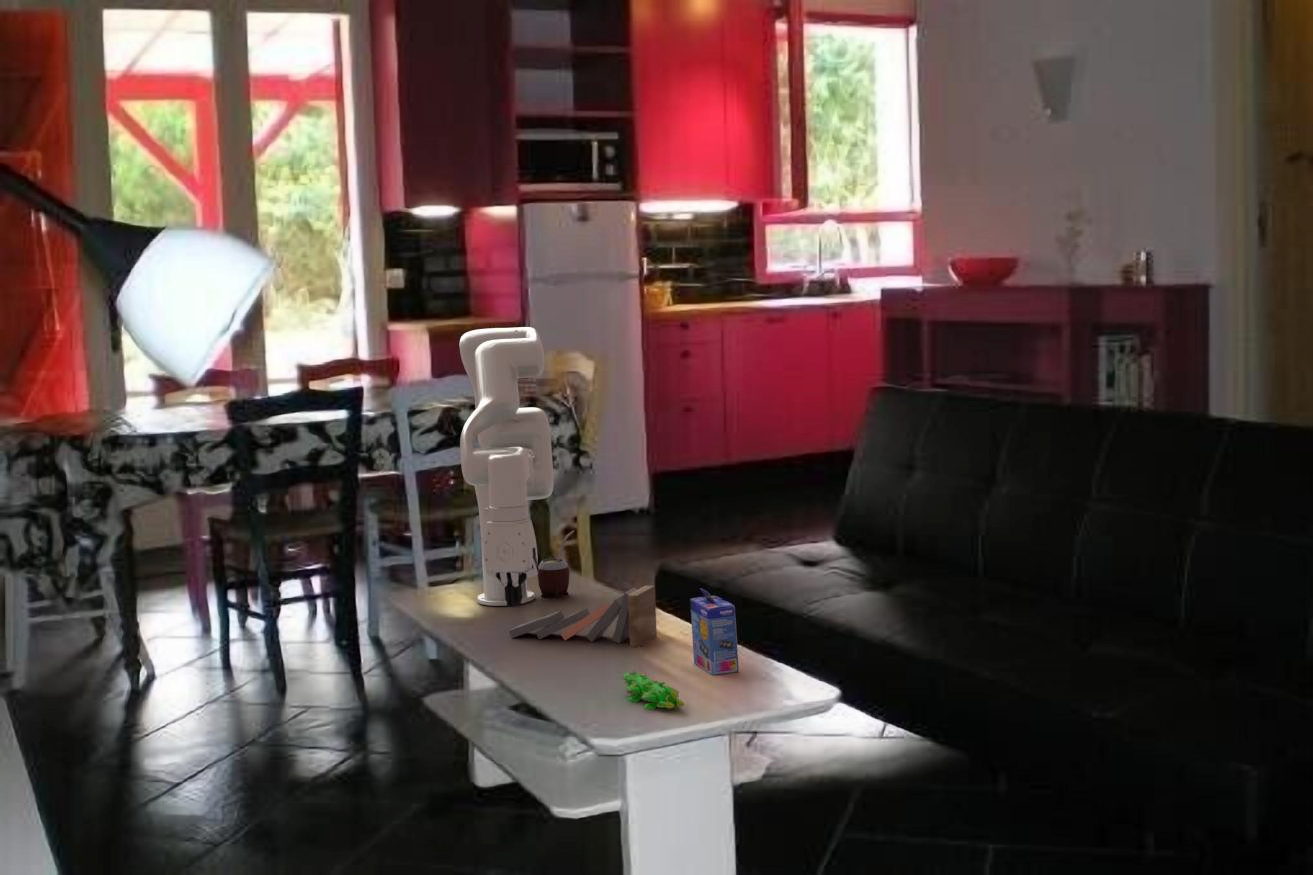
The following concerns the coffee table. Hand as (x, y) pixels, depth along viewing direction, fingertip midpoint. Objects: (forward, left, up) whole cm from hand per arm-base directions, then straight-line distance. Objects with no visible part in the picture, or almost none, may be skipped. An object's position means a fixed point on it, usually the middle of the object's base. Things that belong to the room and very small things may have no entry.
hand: (514, 604), depth 315 cm
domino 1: (0, 0, -5) cm, 5 cm away
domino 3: (+4, +11, -6) cm, 13 cm away
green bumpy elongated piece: (+52, +28, -7) cm, 60 cm away
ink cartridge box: (+31, +39, -6) cm, 51 cm away
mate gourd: (-37, +5, -6) cm, 37 cm away
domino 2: (+2, +6, -6) cm, 8 cm away
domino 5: (+8, +21, -6) cm, 23 cm away
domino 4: (+6, +16, -6) cm, 18 cm away
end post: (+9, +26, -6) cm, 28 cm away
